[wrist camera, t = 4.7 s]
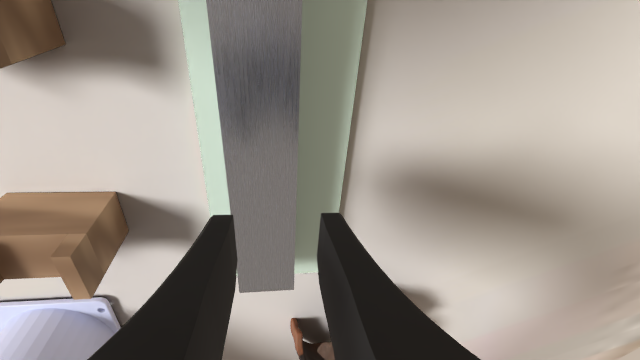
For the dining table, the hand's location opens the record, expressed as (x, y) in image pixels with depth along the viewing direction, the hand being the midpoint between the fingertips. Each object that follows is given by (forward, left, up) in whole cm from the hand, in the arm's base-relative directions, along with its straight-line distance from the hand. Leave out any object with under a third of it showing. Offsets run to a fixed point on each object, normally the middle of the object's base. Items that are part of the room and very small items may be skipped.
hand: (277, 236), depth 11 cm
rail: (0, +2, -6) cm, 7 cm away
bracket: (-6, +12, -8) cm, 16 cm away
